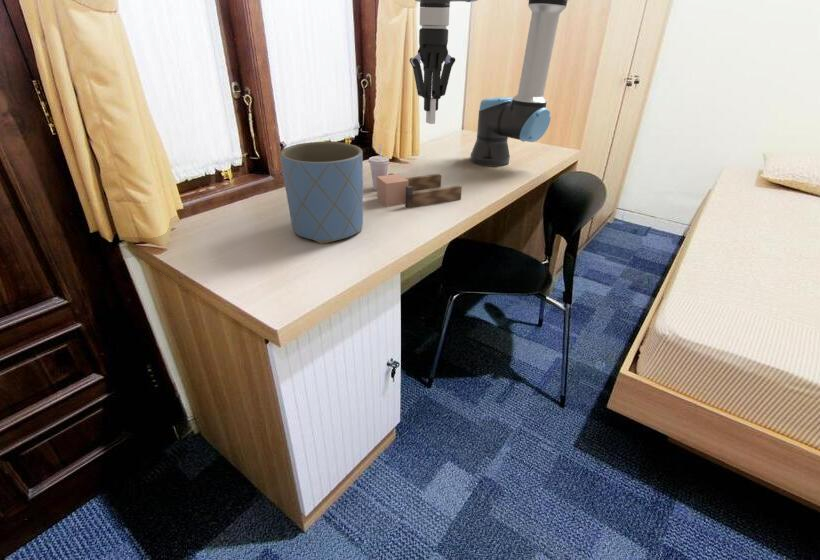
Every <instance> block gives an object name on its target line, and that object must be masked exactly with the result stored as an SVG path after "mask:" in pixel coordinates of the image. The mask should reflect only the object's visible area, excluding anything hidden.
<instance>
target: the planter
mask: <svg viewBox="0 0 820 560" xmlns="http://www.w3.org/2000/svg"><path fill="white" fill-rule="evenodd" d="M363 153H364V151H363V149H362V148H361V147H360V146H357V145H355V144H351V143H347V142H340V141H339V142H338V141H311V142H304V143H299V144H298V143H297V144H294V145H293V144H292V145H290V146H287V147H285V148H283V149H281V151H280V152H279V158H280V164H281V170H282V176H283V181H284V189H285V194H286V200H287V204H288V211H289V216H290V222H291V227H292V230H293V232H294V233H295V235H298V236H300V237H301V238H305V239H309V240H313V241H315V242H317V243H318V244H320V245H324V244H327V243H331V242H335V241H338V240H339V241H340V240H344V239H346V238H349V237H351V236H354V235H356V234H358V233H360V232H361V231H362V230H363V219H364V212H363V211H364V209H363V207H364V206H363V204H364V203H363V202H364V201H363V198H364V197H363V195H364V194H363V193H364V192H363V191H364V189H363V188H364V185H363V184H364V175H363V174H364V172H363V170H364V169H363V166H364V165H363V160H364V159H363V157H364V156H363Z"/></svg>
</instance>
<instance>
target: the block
mask: <svg viewBox="0 0 820 560" xmlns="http://www.w3.org/2000/svg"><path fill="white" fill-rule="evenodd" d="M392 174H393V175H388V174H387V175H385V176H377V191H376V193H377V194H376V197H377V200H378V201H380V203H381V204H383V205H384V206H386V208H387V207H394V206H398V205H406V186H408V182H409V181H408V180H407V179H405V178H406V177H404V176H403V175H401V174H400V173H392Z"/></svg>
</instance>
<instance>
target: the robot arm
mask: <svg viewBox="0 0 820 560" xmlns="http://www.w3.org/2000/svg"><path fill="white" fill-rule="evenodd" d="M414 1H415V2H419V26H421V28H419V30H418V31H419V32H418V44H419V48H418V49H417V50H418V51H417V54H416V55H414V57H410V58H409V62H410V63H409V64H410V65H411V67H412V70H413V74H414V79H415V80H414V81H415V87H416V93H417V96H419V97H422V98H423V110H424V111H425V113H426V114H425V122H426V124H429V125H435V124H436V111H438V109H439V100H440V99H441V98H442V97H444V96H445V95H446V92H447V89H448V84H449V80H450V75H451V71H452V69H453V66H454V64H455V62H456V58H455V57H452V56H451V55H450V54H449V49H448V44H449V43H448V42H449V29H448V28H447V27H448V26H449V25H450V24H449V23H450V7H451V2H465V3H471V2H477V1H478V0H414ZM568 1H569V0H528V4H527V6H528V8H529V10H530V11H531V16H530V20H529V21H530V22H529V27H528V33H527V37H526V44H525V49H524V57H523V61H522V69H521V73H520V74H521V75H520V77H519V78H520V80H519V85H518V90H517V91H518V92H517V94H516V95H515V96H513V97H509V96H502V97H501V96H499V97H488V98H484V99H482V100H481V101H480V104H479V110H478V119H477V120H478V121H477V132H476V140H475V144H474V145H473V148H472V150H471V153H470V159H469V160H470V162H472V163H474V164H476V165H480V166H486V167H501V166H506V165H508V164H509V163H510V157H511V156H510V155H511V154H510V150H509V143H508V139H510V138H511V139H514V140H519V141H521V142H526V143H535V142H538V141H539V140H540V139H542V138H543V136H544V135H545V134H546V132H547V130H548V129H549V126H550V123H551V117H552V116H551V111H550V109H548V108H547V100H546V98H545V96H544V94H545V91H546V90H545V89H546V85H547V79H548V74H549V69H550V64H551V60H552V54H553V49H554V46H555V45H554V43H555V39H556V34H557V29H558V24H559V19H560V15H561V13H562V12H564V10H565V9H566V8H567V4H568ZM443 63H444V64H443ZM421 64H423V66H422V65H421ZM422 70H423V71H422Z"/></svg>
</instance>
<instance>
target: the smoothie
mask: <svg viewBox="0 0 820 560" xmlns="http://www.w3.org/2000/svg"><path fill="white" fill-rule="evenodd" d="M368 163H369V166H370V172H371V178H372V179H371V180H372V187H373V190H374V191H376V192H377V176H385V175H388V166H389V163H390V158H389V157H387V156H383V155H382V144H379V155H376V156H374V155H373V156H371V157H369V158H368Z"/></svg>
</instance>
